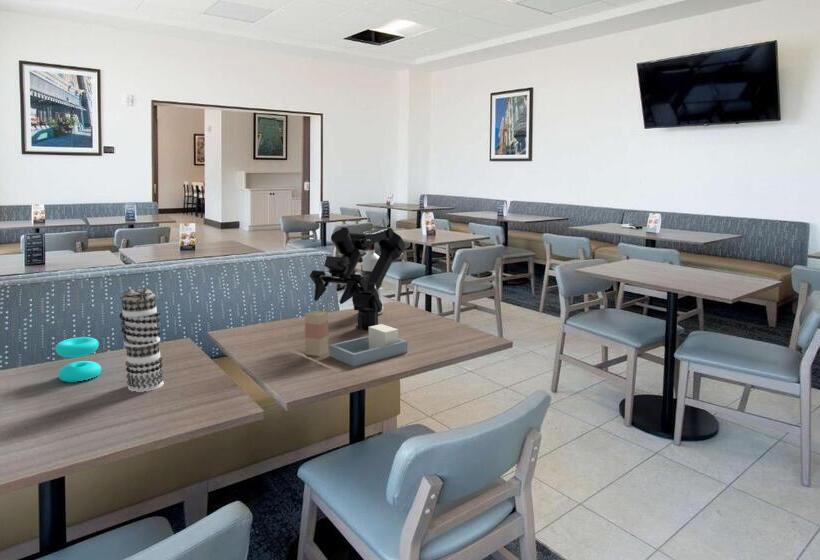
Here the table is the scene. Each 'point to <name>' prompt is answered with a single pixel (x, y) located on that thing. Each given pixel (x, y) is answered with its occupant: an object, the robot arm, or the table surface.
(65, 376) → the donuts
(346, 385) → the table surface
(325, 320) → the oat carton
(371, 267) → the vodka
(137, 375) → the decorative candle
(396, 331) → the cream rectangular block
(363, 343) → the tote
